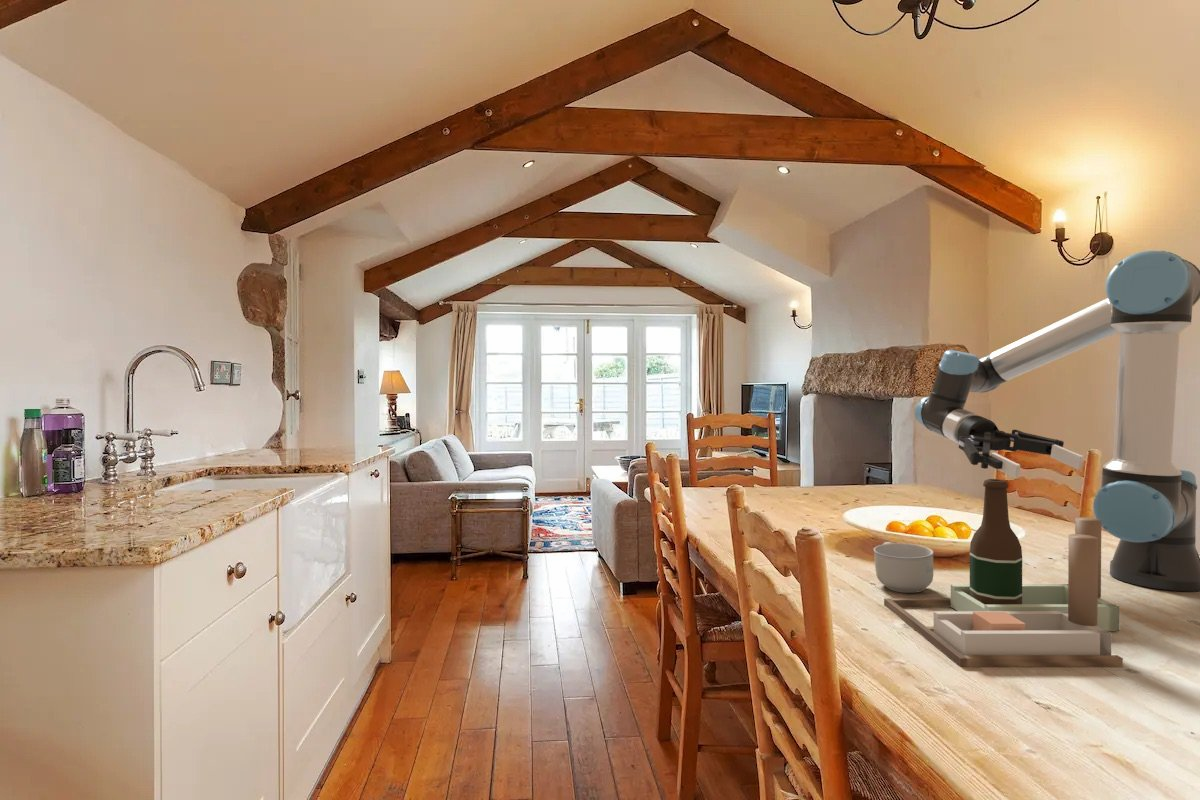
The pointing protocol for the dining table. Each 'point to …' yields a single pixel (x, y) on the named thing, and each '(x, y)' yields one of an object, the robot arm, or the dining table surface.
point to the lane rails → (990, 660)
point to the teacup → (904, 566)
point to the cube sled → (1041, 618)
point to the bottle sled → (1046, 590)
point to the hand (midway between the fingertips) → (1049, 467)
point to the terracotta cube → (996, 622)
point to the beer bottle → (995, 551)
